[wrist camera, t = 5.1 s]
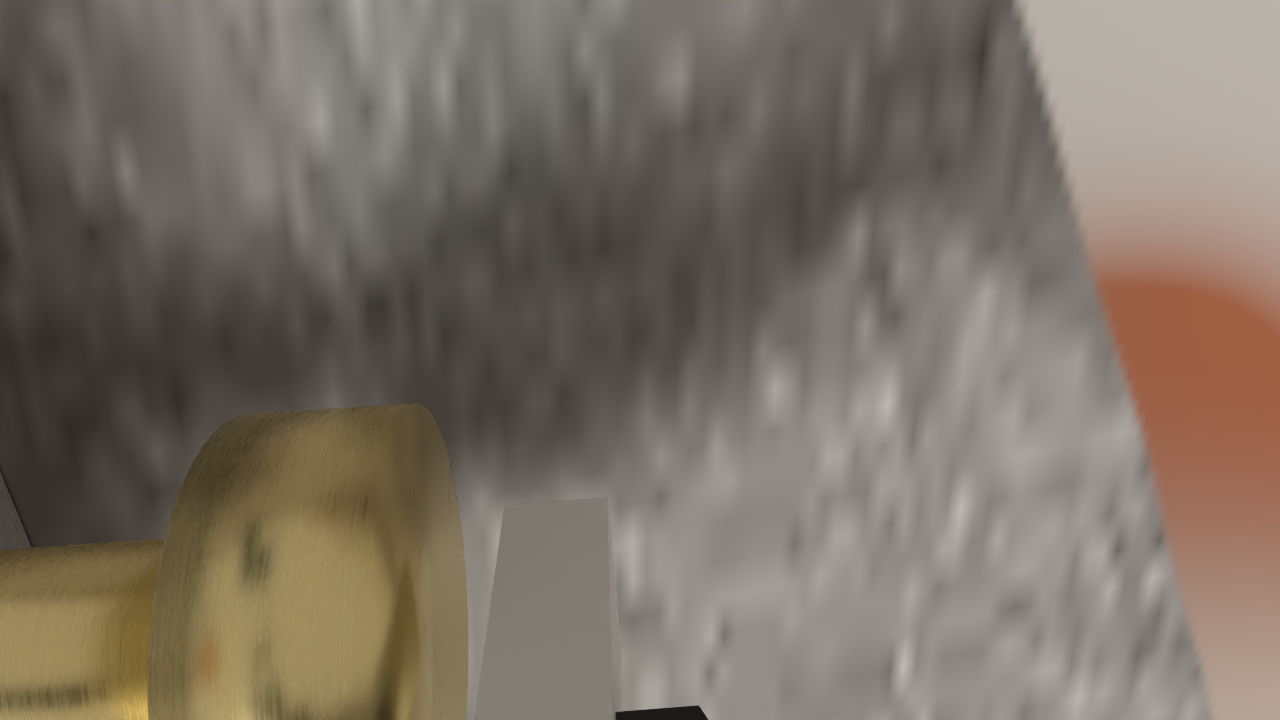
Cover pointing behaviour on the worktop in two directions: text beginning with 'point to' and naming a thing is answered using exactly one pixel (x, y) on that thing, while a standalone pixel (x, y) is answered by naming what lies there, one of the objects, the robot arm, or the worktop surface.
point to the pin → (260, 586)
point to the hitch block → (10, 522)
